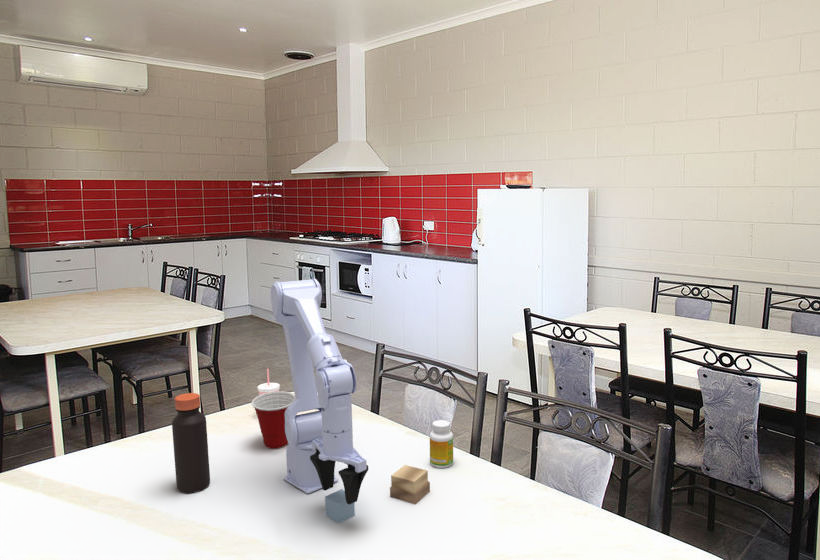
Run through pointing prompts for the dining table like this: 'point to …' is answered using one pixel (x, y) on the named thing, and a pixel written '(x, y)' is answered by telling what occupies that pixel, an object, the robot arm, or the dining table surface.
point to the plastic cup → (273, 417)
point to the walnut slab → (410, 494)
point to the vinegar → (190, 445)
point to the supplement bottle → (441, 444)
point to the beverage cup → (268, 386)
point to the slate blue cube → (338, 506)
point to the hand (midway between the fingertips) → (339, 495)
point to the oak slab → (409, 479)
